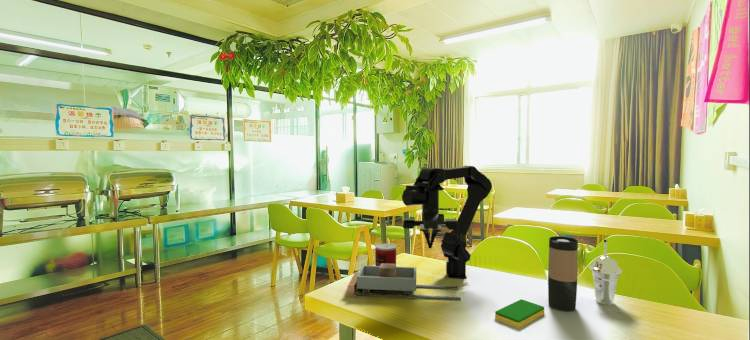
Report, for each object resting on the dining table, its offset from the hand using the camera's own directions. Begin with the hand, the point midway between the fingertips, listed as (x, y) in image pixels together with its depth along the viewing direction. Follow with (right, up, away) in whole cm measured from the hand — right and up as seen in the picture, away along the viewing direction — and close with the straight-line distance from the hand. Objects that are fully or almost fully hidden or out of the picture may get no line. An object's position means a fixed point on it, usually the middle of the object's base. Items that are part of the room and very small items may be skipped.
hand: (430, 248), depth 126 cm
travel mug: (+36, -13, -20) cm, 43 cm away
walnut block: (-15, -9, -8) cm, 19 cm away
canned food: (-15, -12, +7) cm, 21 cm away
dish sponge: (+21, -14, -26) cm, 36 cm away
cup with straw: (+50, -13, -16) cm, 55 cm away
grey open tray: (-15, -12, -8) cm, 21 cm away
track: (-9, -12, -8) cm, 18 cm away
